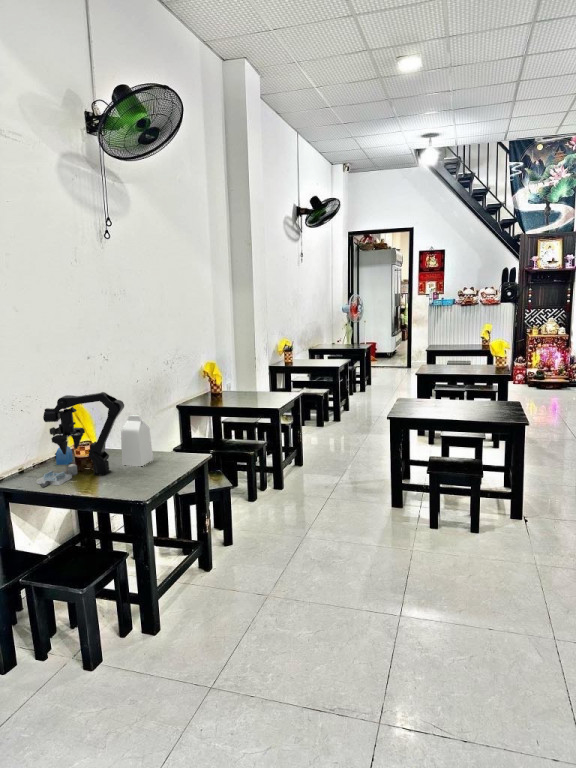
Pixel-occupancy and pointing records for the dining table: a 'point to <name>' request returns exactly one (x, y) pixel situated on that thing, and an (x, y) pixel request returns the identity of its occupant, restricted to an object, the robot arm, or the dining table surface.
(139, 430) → the milk
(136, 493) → the dining table surface
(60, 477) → the motor block
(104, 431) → the robot arm
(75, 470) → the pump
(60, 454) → the perfume bottle
